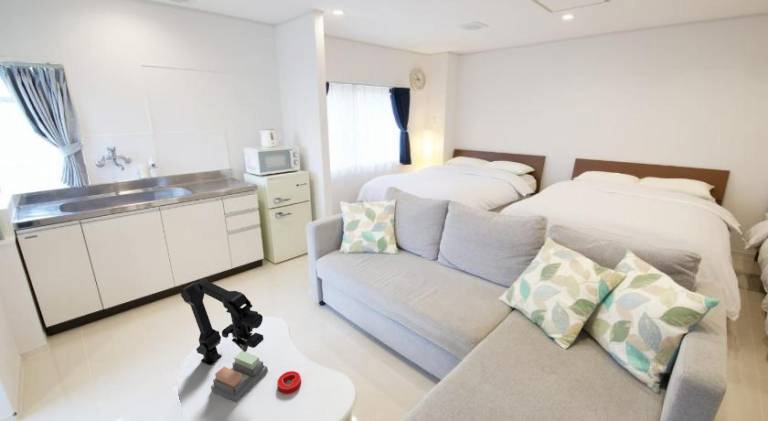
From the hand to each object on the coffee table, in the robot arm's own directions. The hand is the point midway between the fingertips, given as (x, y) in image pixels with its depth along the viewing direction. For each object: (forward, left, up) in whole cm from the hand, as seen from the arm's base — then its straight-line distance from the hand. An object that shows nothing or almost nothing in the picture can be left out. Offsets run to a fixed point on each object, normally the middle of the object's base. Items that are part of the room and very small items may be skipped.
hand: (245, 351), depth 146 cm
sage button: (0, 0, -7) cm, 7 cm away
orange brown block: (0, -10, -7) cm, 12 cm away
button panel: (0, -5, -12) cm, 13 cm away
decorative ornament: (+21, +2, -12) cm, 24 cm away
